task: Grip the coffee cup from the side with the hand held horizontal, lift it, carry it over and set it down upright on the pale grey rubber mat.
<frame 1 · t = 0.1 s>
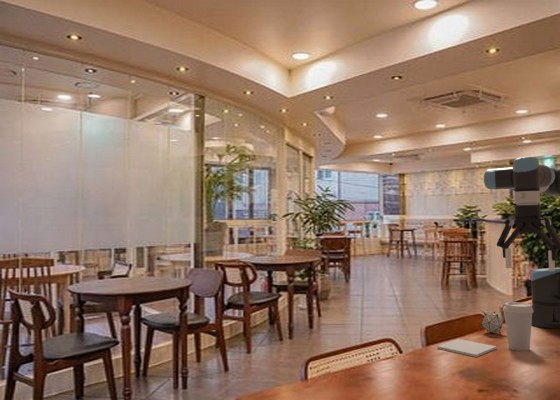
hand: (529, 269, 159), 28 cm above the table, tool pointing down, fingers open, 13 cm apart
coffee cup: (519, 349, 167), on the table
game die: (492, 333, 188), on the table
mat: (466, 348, 167), on the table
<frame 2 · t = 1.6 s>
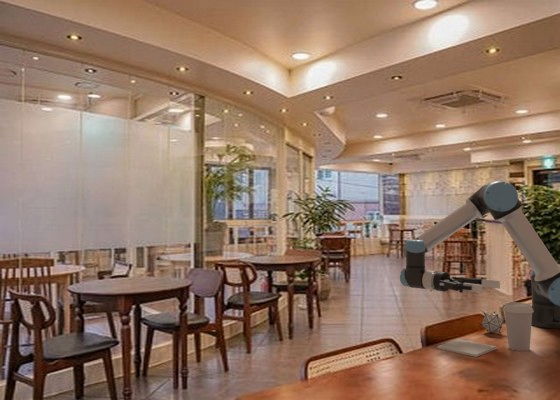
hand: (490, 286, 174), 20 cm above the table, tool horizontal, fingers open, 13 cm apart
nothing on the table moved.
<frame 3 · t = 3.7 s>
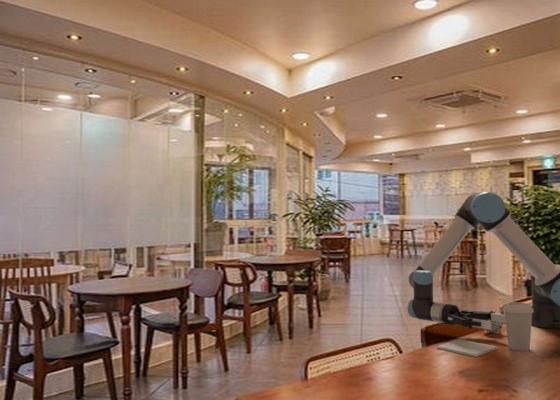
hand: (500, 322, 171), 8 cm above the table, tool horizontal, fingers open, 13 cm apart
nothing on the table moved.
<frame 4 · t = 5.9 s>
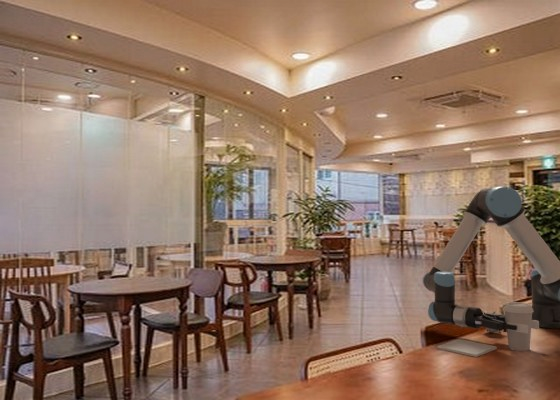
hand: (533, 327, 163), 8 cm above the table, tool horizontal, fingers closed on coffee cup, 8 cm apart
coffee cup: (519, 348, 167), on the table, touching gripper
everything else where it was.
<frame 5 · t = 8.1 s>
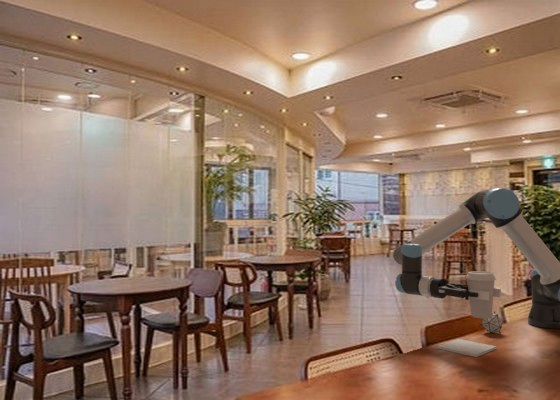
hand: (494, 294, 164), 19 cm above the table, tool horizontal, fingers closed on coffee cup, 8 cm apart
coffee cup: (481, 316, 167), point 11 cm above the table, touching gripper
everything else where it was.
when the fingers open (10 cm above the table, at t = 10.4 s): coffee cup drops 1 cm, resting on mat.
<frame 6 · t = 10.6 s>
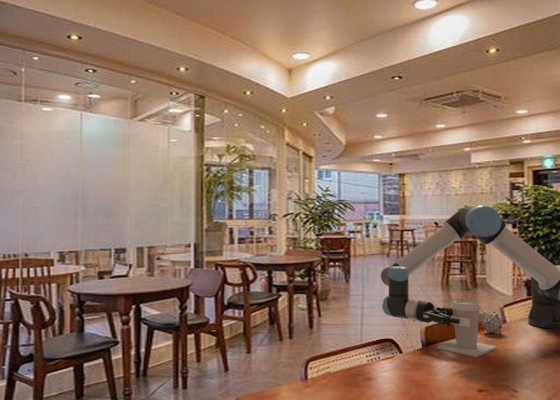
hand: (477, 320, 164), 10 cm above the table, tool horizontal, fingers open, 10 cm apart
coffee cup: (466, 346, 167), point 1 cm above the table, touching mat
everything else where it was.
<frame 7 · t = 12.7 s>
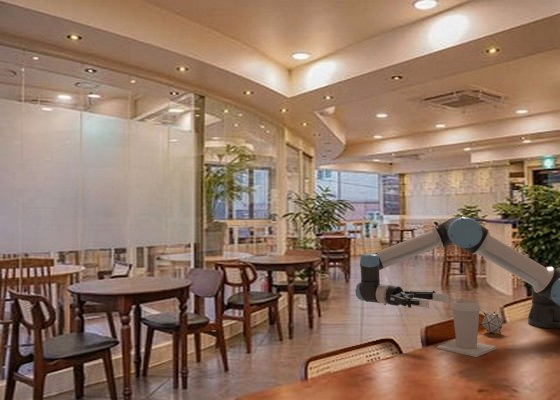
hand: (439, 301, 175), 15 cm above the table, tool horizontal, fingers open, 13 cm apart
nothing on the table moved.
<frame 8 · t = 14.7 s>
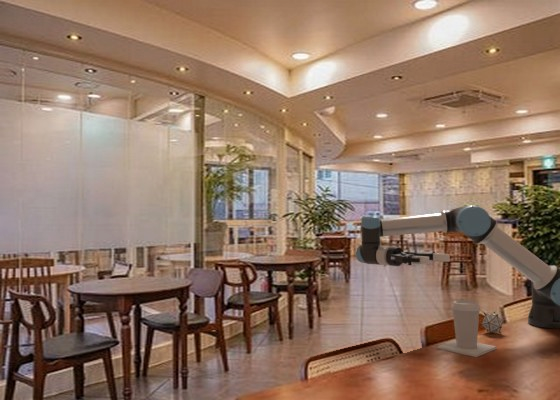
hand: (439, 259, 175), 30 cm above the table, tool horizontal, fingers open, 13 cm apart
nothing on the table moved.
at the end: coffee cup inside the target area on the mat (0.1 cm from its centre), point 0.6 cm above the mat's base; coffee cup tilted 0°; the gripper is holding nothing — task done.
